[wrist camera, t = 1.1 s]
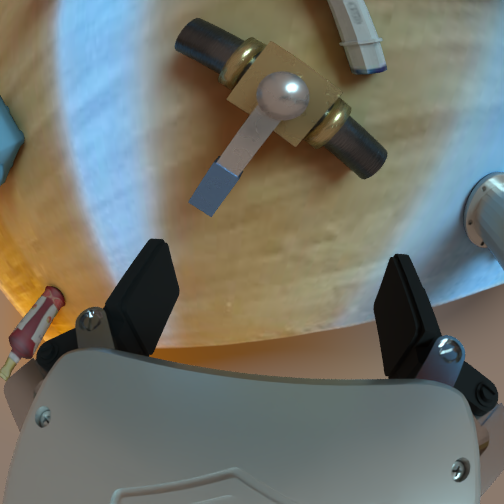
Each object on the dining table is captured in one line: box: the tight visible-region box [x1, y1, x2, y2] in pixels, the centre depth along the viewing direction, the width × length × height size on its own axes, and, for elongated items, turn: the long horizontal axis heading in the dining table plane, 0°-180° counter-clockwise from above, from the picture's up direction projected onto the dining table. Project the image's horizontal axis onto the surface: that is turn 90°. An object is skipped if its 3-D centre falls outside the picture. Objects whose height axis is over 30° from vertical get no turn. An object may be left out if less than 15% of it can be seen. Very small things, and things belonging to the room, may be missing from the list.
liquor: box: [0, 286, 65, 381], centre depth 46 cm, size 7×7×28 cm
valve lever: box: [189, 71, 310, 217], centre depth 22 cm, size 4×15×2 cm, turn 145°
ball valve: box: [175, 18, 387, 179], centre depth 23 cm, size 24×7×8 cm, turn 55°
